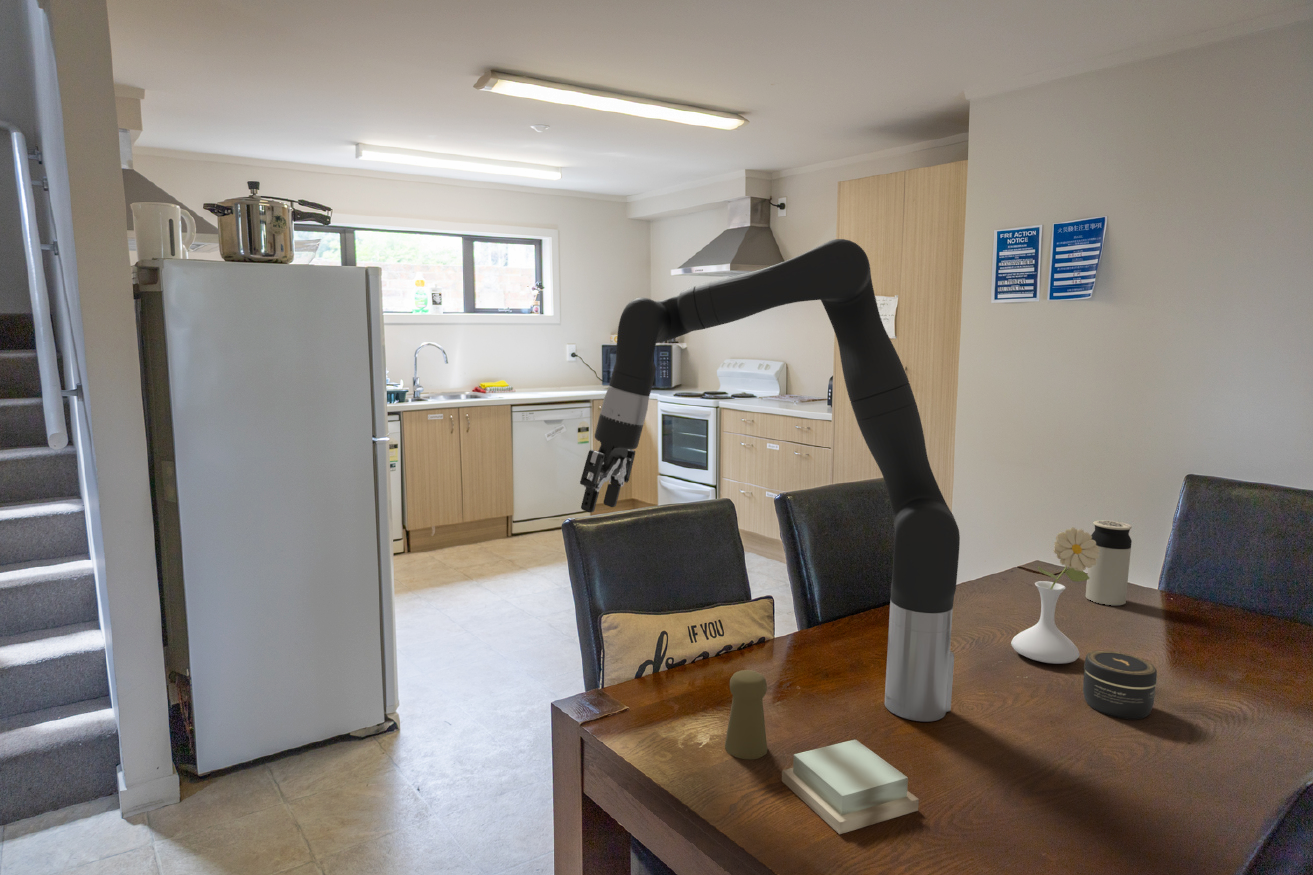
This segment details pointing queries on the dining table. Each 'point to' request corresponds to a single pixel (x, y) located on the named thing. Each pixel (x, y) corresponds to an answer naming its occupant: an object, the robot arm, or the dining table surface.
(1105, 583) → the travel mug
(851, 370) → the robot arm
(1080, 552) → the flower in vase
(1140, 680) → the jar
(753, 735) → the cork
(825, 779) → the plinth
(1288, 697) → the dining table surface
